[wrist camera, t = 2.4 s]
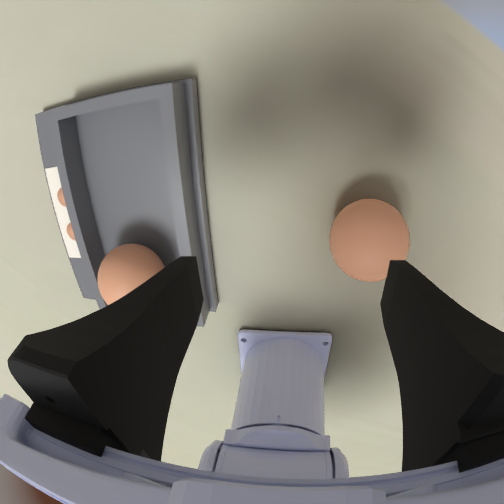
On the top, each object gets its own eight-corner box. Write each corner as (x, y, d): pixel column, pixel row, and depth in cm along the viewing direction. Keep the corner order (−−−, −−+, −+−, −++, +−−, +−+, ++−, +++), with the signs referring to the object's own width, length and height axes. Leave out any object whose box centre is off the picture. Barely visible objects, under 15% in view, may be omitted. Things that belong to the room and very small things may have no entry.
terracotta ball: (390, 255, 21) (409, 298, 17) (323, 253, 22) (329, 298, 17) (401, 190, 18) (429, 222, 14) (328, 185, 19) (338, 217, 15)
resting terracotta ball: (181, 289, 24) (159, 334, 19) (126, 285, 24) (98, 325, 20) (170, 231, 21) (141, 271, 17) (111, 230, 22) (75, 266, 17)
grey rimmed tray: (218, 303, 25) (209, 329, 22) (88, 291, 27) (73, 311, 24) (196, 78, 16) (179, 78, 14) (43, 112, 18) (17, 119, 16)
